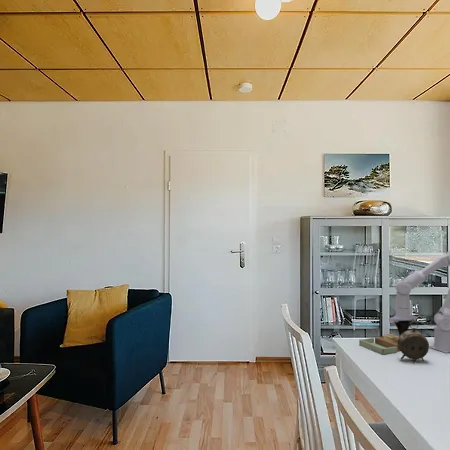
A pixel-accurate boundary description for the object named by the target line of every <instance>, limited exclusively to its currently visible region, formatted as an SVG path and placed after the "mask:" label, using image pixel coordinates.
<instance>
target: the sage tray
mask: <svg viewBox="0 0 450 450" xmlns="http://www.w3.org/2000/svg"><path fill="white" fill-rule="evenodd" d="M358 344H359V346H360V347H363V348H365V349H367V350H369V351H373V352H375V353H377V354H379V355H381V356H385V355H391V354H397V353H398V352H397V347H390V348H386V347H383V346H381V345H378V344H376V343H375V337H370V338H363V339H359V343H358Z"/></svg>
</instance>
